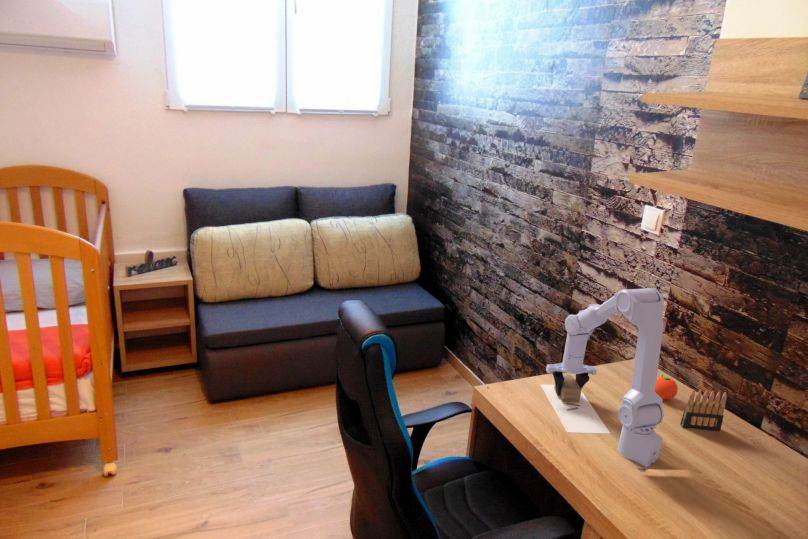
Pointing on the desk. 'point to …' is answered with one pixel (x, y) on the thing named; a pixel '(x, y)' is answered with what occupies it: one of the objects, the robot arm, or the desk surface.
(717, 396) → the ammunition clip
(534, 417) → the desk surface
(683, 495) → the desk surface
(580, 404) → the plank
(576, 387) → the block
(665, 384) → the clementine
